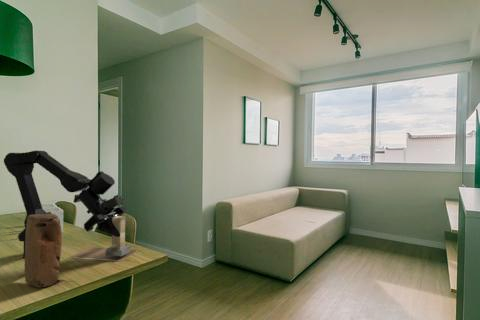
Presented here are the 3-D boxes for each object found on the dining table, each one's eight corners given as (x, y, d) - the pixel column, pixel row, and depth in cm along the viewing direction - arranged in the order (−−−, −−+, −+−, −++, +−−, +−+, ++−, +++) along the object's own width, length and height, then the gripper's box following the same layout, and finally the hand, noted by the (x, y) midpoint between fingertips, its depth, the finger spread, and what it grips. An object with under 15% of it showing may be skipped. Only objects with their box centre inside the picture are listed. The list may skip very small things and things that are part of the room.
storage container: (63, 233, 132) (63, 210, 132) (34, 237, 125) (35, 213, 125) (53, 223, 150) (53, 203, 150) (27, 226, 143) (28, 205, 143)
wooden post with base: (105, 255, 97) (106, 218, 97) (114, 249, 103) (115, 214, 103) (121, 256, 96) (122, 219, 96) (130, 250, 102) (130, 215, 102)
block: (22, 280, 82) (23, 214, 82) (51, 272, 88) (52, 210, 88) (33, 292, 75) (34, 220, 75) (64, 283, 81) (65, 215, 81)
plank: (67, 262, 97) (67, 257, 97) (89, 250, 109) (89, 246, 109) (121, 265, 95) (121, 261, 95) (137, 253, 107) (137, 249, 107)
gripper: (92, 191, 90) (123, 226, 89) (122, 185, 109) (148, 214, 108) (70, 213, 91) (100, 249, 90) (103, 204, 110) (129, 233, 109)
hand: (122, 234), depth 99 cm, fingers closed on wooden post with base, 3 cm apart
